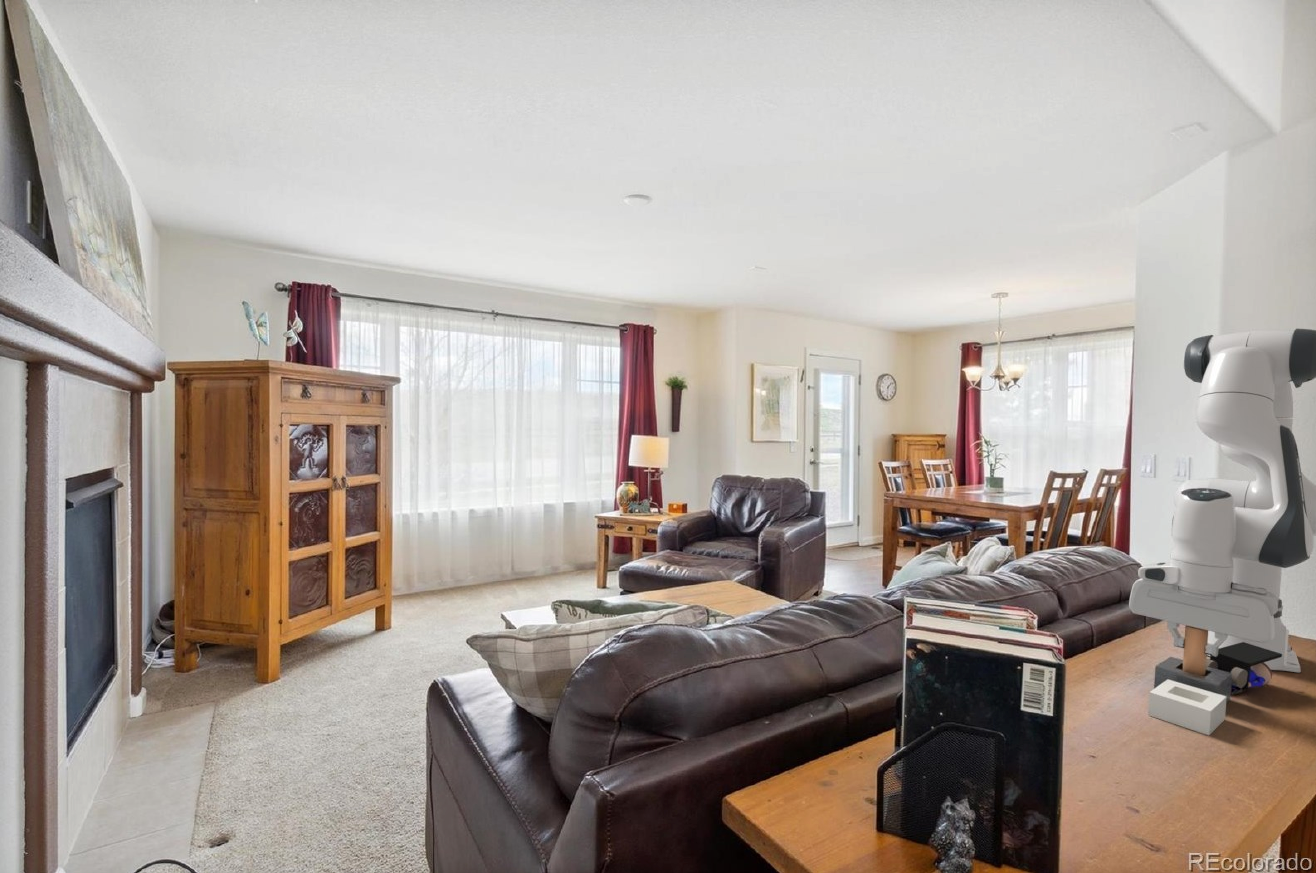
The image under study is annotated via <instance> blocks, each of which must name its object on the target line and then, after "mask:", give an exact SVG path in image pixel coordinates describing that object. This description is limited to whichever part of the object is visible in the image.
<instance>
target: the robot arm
mask: <svg viewBox="0 0 1316 873" xmlns="http://www.w3.org/2000/svg"><path fill="white" fill-rule="evenodd" d="M1182 366H1183V367H1182V368H1183V371H1184V373H1185V376H1186V377H1187V378H1188V379H1189V380H1191V381H1192V382H1194V383H1198V384H1200V388H1199V391H1198V398H1197V404H1196V423H1197V426H1198V428H1199V429H1200V431H1201V432H1202V433H1203V434H1204V435H1205V436H1206V437H1208V438H1210V439H1211V440H1212V441H1214V442H1216V443H1218V444H1219V447H1220V450H1221V452H1222V453H1223V455H1224V456H1225V457H1226V458H1228V459H1230V460H1232V461H1234V462H1236V463H1238V464H1239V465H1243V466H1244V467H1247V468H1249V469H1251V470H1252V472H1253V474H1254V475H1255V476H1254V477H1255V480H1243V479H1228V478H1215V477H1208V478H1195V479H1194V478H1193V479H1187V480H1186V481H1184V482H1183V483H1181V485H1179V487H1178V488H1177V489H1176V491H1175V493H1174V494H1175V495H1174V498H1173V500H1174V502H1173V503H1174V507H1175V508H1174V512H1173V516H1172V522H1171V538H1172V541H1173V548H1172V551H1171V552H1170V560H1169V562H1159V563H1149V564H1145V565H1143V566H1141V567H1139V568H1138V571H1137V574H1138V575H1137V576H1138V578H1139V579H1137V580H1135V582H1134V583H1133V584H1132V587H1131V591H1130V596H1129V600H1128V606H1129V609H1130V611H1131V612H1132V613H1133V614H1134V615H1140V616H1144V617H1149V618H1153V619H1156V620H1157V619H1158V620H1161V621H1165V622H1167V623H1166V627H1167V629H1168V630H1169V632H1170V634H1171V636H1172V637H1173V647H1175V648H1181V649H1184V641H1185V636H1182V635H1181V634H1180V632H1179V630H1178V628H1179V627H1180V625H1183V626H1191V627H1195V628H1199V629H1204V630H1208V643H1207V645H1206V648H1205V649H1206V651H1205V654H1207V656H1209V657H1210V655H1211V656H1215V657H1216V656H1218V649H1219V648H1223V647H1227V646H1230V645H1234V644H1238V643H1241V642H1245V643H1248V644H1251V645H1255V646H1258V647H1261V648H1264V649H1268V650H1271V651H1274V652H1277V653H1280V654H1282V657H1280V658H1277V659H1273V660H1270V661H1267V662H1264V663H1265V664H1266V665H1267V666H1268V667H1269V668H1270V669H1271V671H1284V672H1285V671H1286V672H1292V673H1293V672H1294V673H1301V672H1302V670H1301V669H1302V668H1301V665H1300V663H1299V659H1298V657H1297V654H1296V651H1294V650H1293V647H1292V645H1289V629H1287V626H1286V625H1284V622H1283V621H1282V619H1281V617H1282V616H1283V609H1284V608H1283V607H1284V605H1283V601H1282V599H1281V598H1280V595H1281V584H1282V570H1283V569H1287V568H1291V567H1294V566H1297V565H1300V564H1301V563H1303V562H1305V561H1307V560H1309V559H1310V558H1311V554H1312V553H1313V549H1314V545H1315V538H1314V537H1316V484H1314V483H1313V482H1312V481H1311V480H1310V479H1309V478H1308V477H1306V475H1305V474H1304V473H1303V472H1302V470H1301V469H1302V468H1301V463H1300V456H1299V450H1298V446H1297V442H1296V438H1295V436H1294V434H1293V420H1294V419H1293V418H1294V400H1293V391H1292V385H1291V382H1292V383H1293V385H1294V387H1295V389H1298V388H1301V387H1302V385H1303V384H1304V383H1309V382H1310V381H1313V380H1314V379H1316V329H1310V328H1296V329H1293V330H1292V329H1256V330H1251V331H1240V332H1233V333H1232V332H1231V333H1224V334H1218V335H1213V334H1209V335H1205V336H1200V337H1197V338H1194V339H1193V340H1192V341H1190V342H1189V343H1188V344H1187V346H1186V348H1185V351H1184V352H1183V356H1182ZM1282 568H1283V569H1282Z"/></svg>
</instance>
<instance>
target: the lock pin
mask: <svg viewBox="0 0 1316 873" xmlns="http://www.w3.org/2000/svg"><path fill="white" fill-rule="evenodd" d="M1184 626H1185V627H1184V628H1185V630H1184V637H1185V641H1184V648H1183V657H1182V660H1183V670H1184V671H1188V672H1191V673H1195V674H1198V675H1202V676H1205V673H1206V659H1208V657H1207V656H1208V655H1207V654H1205V651H1206V649H1205V648H1206V645H1207V643H1208V630H1204V629H1199V628H1195V627H1191V626H1186V625H1184Z"/></svg>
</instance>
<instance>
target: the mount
mask: <svg viewBox="0 0 1316 873" xmlns="http://www.w3.org/2000/svg"><path fill="white" fill-rule="evenodd" d="M1166 680H1172V681H1175V682H1179V683H1182V684H1185V685H1189V686H1192V687H1196V688H1199V689H1203V690H1206V691H1209V692H1213V693H1216V694H1220V695H1223V696H1227V698H1226V705H1227V704H1228V703H1229V702H1230V701H1231V697H1232V696H1231V695H1232V694H1231V692H1232V689H1231V683H1232V673H1230V672H1226V671H1222V670H1218V669H1215V668H1211V667H1207V666H1206V673H1205V676H1202V675H1198V674H1195V673H1191V672H1188V671H1184V670H1183V659H1180V658H1177V657H1173V656H1169V657H1168V658H1166V659H1165V660H1163V661H1162V662H1160V663H1158V664H1156V665H1155V669H1154V681H1153V683H1154V684H1153V689H1155V688H1156V687H1158V686H1159V685H1160V684H1162V683H1163V682H1165V681H1166Z"/></svg>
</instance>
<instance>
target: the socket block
mask: <svg viewBox="0 0 1316 873" xmlns="http://www.w3.org/2000/svg"><path fill="white" fill-rule="evenodd" d="M1148 692H1149V694H1148V696H1149V697H1148V706H1147V707H1148V708H1147V715H1148V716H1149V717H1152V718H1156V719H1159V720H1161V721H1164V722H1168V723H1171V724H1174V725H1175V726H1176V725H1177V726H1179V727H1182V728H1185V729H1188V730H1192V731H1194V732H1197V733H1200V734H1203V735H1205V736H1210V735H1211V734H1212V733H1213V732H1215V730H1216V729H1217V728H1218V727H1219V726H1220V725H1221V724H1222V723H1223V722H1224V721H1225V720H1226V712H1227V711H1226V709H1227V704H1226V698H1227V696H1223V695H1220V694H1216V693H1213V692H1209V691H1206V690H1203V689H1199V688H1196V687H1192V686H1189V685H1185V684H1182V683H1179V682H1175V681H1172V680H1166V681H1165V682H1163V683H1162V684H1160V685H1159V686H1158V687H1156V688H1155V689H1154V688H1153V689H1152V690H1150V691H1148Z"/></svg>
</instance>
